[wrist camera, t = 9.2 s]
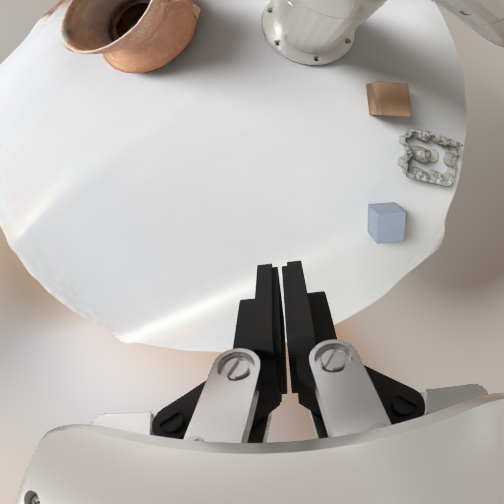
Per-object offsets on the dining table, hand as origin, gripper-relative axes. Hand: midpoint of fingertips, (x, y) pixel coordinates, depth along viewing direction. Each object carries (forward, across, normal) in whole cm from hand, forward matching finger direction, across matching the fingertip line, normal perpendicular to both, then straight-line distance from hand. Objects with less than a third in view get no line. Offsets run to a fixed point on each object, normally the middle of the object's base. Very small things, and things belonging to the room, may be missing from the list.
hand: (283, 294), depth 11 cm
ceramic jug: (+29, +14, -24) cm, 40 cm away
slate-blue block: (+29, -16, +10) cm, 35 cm away
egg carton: (+30, -24, 0) cm, 38 cm away
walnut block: (+29, -17, -8) cm, 35 cm away
